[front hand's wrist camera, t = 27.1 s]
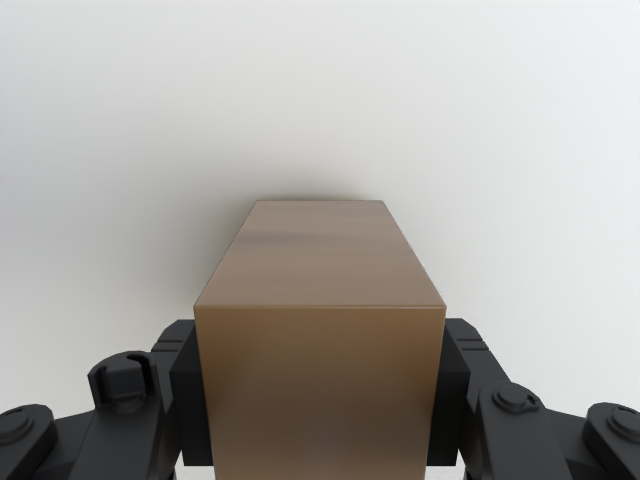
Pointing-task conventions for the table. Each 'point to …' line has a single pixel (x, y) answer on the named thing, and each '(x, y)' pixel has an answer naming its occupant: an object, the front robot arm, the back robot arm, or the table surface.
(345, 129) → the table surface
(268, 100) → the table surface
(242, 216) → the table surface
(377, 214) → the block
